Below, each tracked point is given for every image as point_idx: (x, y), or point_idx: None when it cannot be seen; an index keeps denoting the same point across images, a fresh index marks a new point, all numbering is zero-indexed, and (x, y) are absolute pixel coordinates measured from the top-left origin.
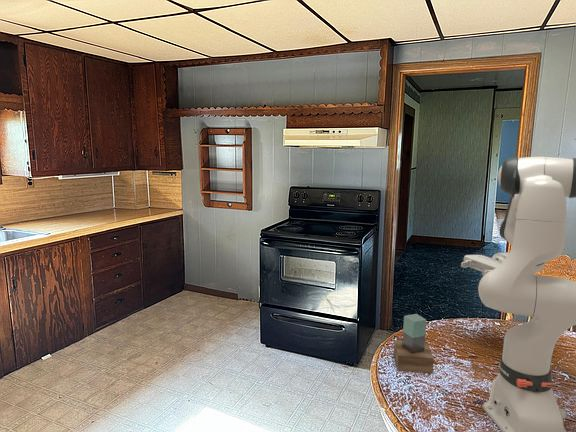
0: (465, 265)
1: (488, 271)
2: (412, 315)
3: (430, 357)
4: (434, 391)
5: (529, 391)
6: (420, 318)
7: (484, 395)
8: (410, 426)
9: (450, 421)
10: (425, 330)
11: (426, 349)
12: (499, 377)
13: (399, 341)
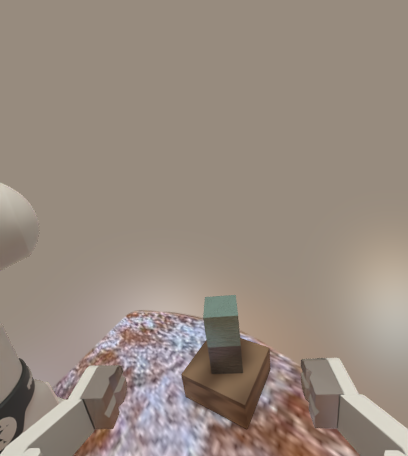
0: (308, 384)
1: (75, 391)
2: (231, 306)
3: (187, 371)
4: (148, 367)
5: None
6: (213, 311)
7: None
8: (127, 315)
9: (100, 349)
10: (206, 338)
11: (215, 382)
12: (34, 381)
13: (260, 353)
